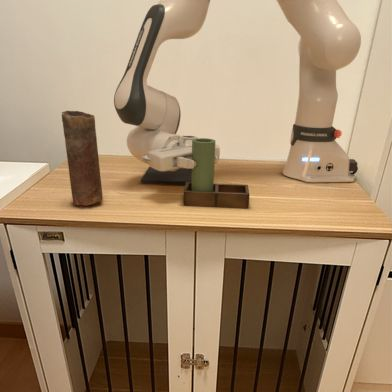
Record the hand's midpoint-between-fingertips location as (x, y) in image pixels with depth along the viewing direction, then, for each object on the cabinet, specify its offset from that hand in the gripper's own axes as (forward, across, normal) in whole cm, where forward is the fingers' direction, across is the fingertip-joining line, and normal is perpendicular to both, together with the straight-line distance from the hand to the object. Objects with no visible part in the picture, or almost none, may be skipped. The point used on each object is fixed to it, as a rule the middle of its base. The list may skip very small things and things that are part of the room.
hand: (205, 162), depth 101 cm
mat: (-22, +10, +10) cm, 26 cm away
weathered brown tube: (-17, -24, +10) cm, 31 cm away
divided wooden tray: (+2, +2, +10) cm, 10 cm away
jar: (-1, 0, +7) cm, 7 cm away
